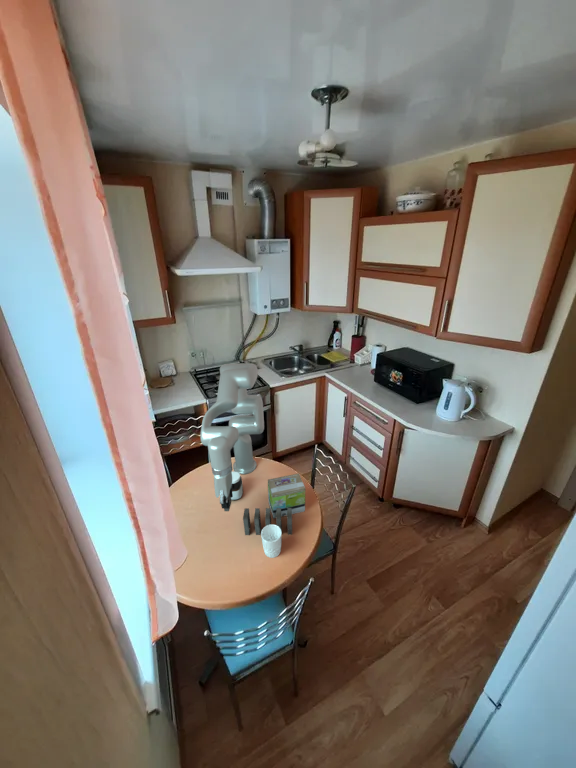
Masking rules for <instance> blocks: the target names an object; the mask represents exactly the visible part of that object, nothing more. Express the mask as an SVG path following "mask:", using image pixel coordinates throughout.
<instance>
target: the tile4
mask: <svg viewBox="0 0 576 768" xmlns="http://www.w3.org/2000/svg"><path fill="white" fill-rule="evenodd" d="M275 521H276V524H275V525H277V526H278V527H279V528H280V529H281V532H282V526H283V523H282V522H283V521H282V516H281V508H277V511H276V518H275Z"/></svg>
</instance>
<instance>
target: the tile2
mask: <svg viewBox="0 0 576 768" xmlns="http://www.w3.org/2000/svg"><path fill="white" fill-rule="evenodd" d="M261 519H262V518H261V509H260V508H258V507H255V509H254V516H253V520H254V531H255V536H260V535H261V531H262V529H261V528H262V521H261Z"/></svg>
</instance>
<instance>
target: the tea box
mask: <svg viewBox="0 0 576 768" xmlns="http://www.w3.org/2000/svg"><path fill="white" fill-rule="evenodd" d="M267 493H268V494H267V497H268V504H269V508H270V512H271V515H272V518H273V519H276V511H277V508H281V517H285V516H286V517H287V508H292V515H294V514H300V513H303V512H305V511H306V486H305V483H304V481H303V479H302V477H301V475H300V473H294V474H289V475H284V476H280V477H279V476H278V477H275V478H270V479H267Z"/></svg>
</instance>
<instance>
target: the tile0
mask: <svg viewBox="0 0 576 768" xmlns="http://www.w3.org/2000/svg"><path fill="white" fill-rule="evenodd" d="M224 499H226V497H224ZM228 500H229V503H230V506H231V505H232V500H231V496H230V492H229V496H228ZM230 508H231V507H230ZM230 508H229V509H225V508H223V510H224V512H230Z"/></svg>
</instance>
